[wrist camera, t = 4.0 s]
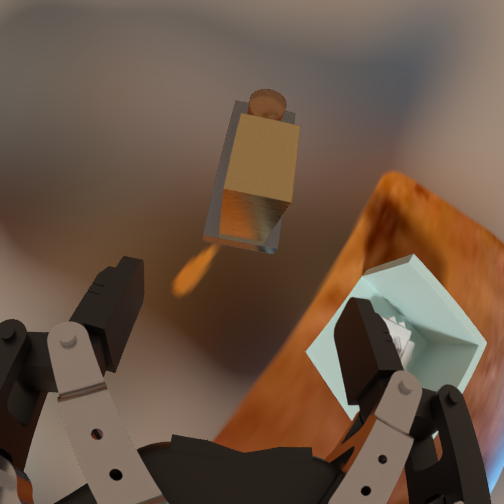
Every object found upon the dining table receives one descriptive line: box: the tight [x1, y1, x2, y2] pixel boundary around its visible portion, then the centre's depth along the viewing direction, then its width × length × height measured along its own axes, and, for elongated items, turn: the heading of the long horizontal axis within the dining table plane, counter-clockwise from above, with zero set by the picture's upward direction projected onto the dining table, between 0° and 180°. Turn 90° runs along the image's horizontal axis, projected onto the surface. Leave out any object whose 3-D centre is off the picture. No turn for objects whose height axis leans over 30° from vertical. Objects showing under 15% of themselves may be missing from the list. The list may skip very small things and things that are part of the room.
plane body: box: [203, 89, 295, 254], centre depth 25 cm, size 14×6×5 cm, turn 171°
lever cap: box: [219, 113, 300, 244], centre depth 20 cm, size 5×4×9 cm
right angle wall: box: [306, 254, 487, 439], centre depth 21 cm, size 12×12×8 cm
